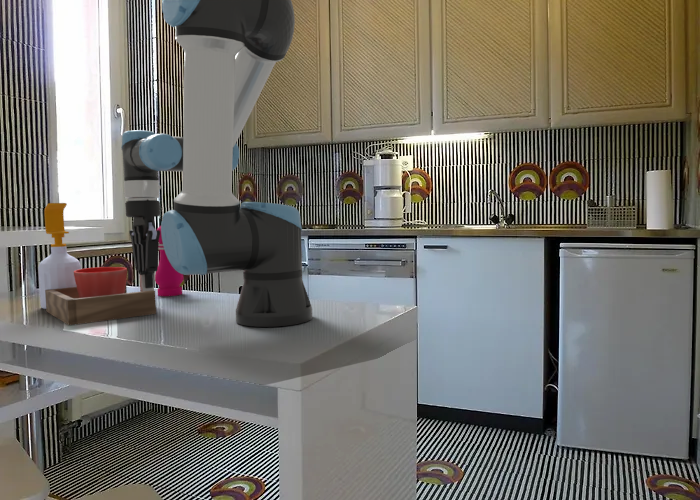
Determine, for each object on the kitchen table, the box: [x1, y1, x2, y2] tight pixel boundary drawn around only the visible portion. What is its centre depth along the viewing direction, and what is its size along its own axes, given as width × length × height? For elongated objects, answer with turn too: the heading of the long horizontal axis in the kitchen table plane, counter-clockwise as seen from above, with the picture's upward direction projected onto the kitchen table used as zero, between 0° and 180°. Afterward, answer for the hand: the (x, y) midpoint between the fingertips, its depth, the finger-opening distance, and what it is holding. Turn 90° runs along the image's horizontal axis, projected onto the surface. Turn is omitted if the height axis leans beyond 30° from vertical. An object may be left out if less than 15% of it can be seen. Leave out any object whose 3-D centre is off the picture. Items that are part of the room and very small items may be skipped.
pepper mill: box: [154, 225, 185, 297], centre depth 155 cm, size 7×7×20 cm
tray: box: [45, 285, 157, 326], centre depth 130 cm, size 21×18×5 cm
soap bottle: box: [37, 202, 82, 310], centre depth 140 cm, size 9×9×25 cm
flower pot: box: [74, 266, 128, 298], centre depth 131 cm, size 11×11×10 cm
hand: (147, 301), depth 137 cm, fingers closed
